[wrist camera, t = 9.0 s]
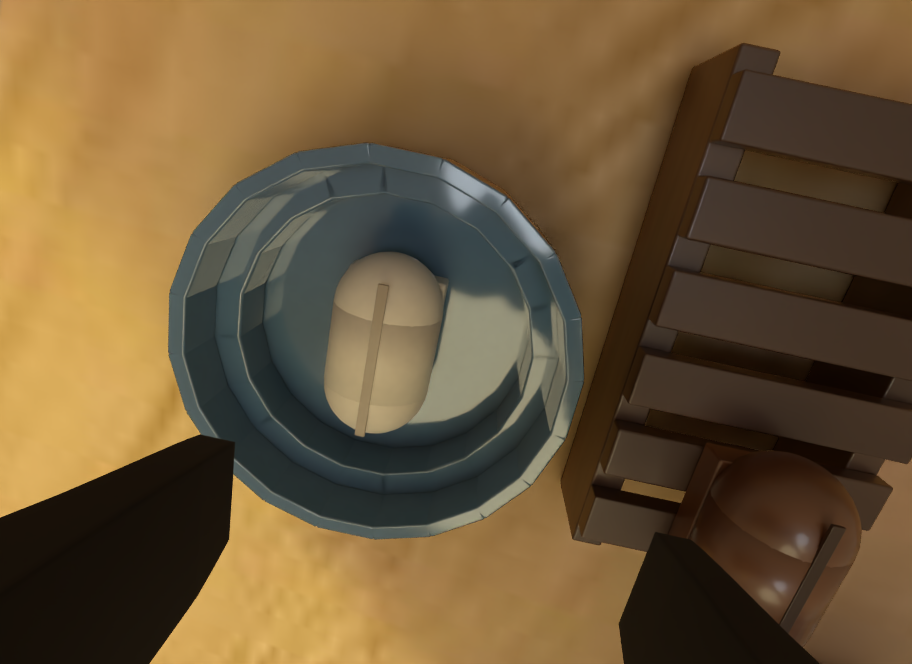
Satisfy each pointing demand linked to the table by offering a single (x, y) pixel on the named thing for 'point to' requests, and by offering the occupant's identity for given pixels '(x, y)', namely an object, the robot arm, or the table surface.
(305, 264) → the bowl
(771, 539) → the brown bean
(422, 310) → the cream capsule
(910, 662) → the table surface
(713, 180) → the rack
